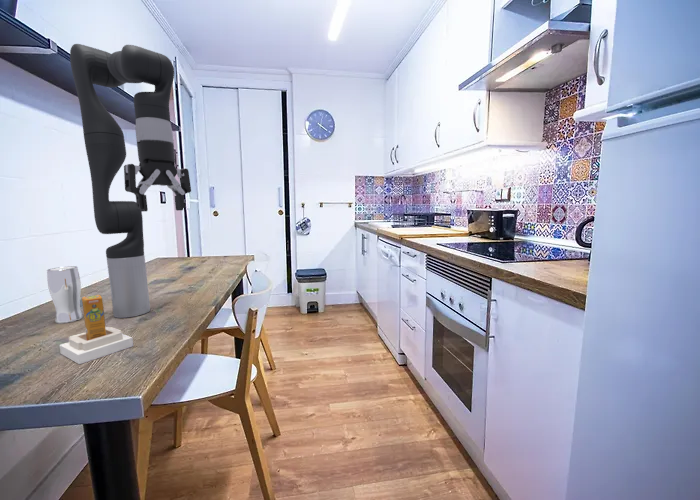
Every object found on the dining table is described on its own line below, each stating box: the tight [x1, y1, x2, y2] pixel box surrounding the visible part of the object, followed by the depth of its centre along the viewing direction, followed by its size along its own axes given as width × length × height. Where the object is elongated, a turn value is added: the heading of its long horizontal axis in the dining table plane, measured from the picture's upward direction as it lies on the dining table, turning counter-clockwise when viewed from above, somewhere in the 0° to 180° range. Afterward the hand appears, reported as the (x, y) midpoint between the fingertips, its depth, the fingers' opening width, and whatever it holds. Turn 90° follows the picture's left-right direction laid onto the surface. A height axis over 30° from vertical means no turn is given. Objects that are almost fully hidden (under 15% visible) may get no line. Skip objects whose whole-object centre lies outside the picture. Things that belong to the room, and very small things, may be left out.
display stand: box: [59, 326, 134, 365], centre depth 73 cm, size 10×10×4 cm
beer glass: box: [46, 265, 84, 325], centre depth 93 cm, size 7×7×15 cm
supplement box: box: [81, 294, 106, 341], centre depth 72 cm, size 3×3×10 cm
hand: (162, 210), depth 80 cm, fingers open, 8 cm apart
